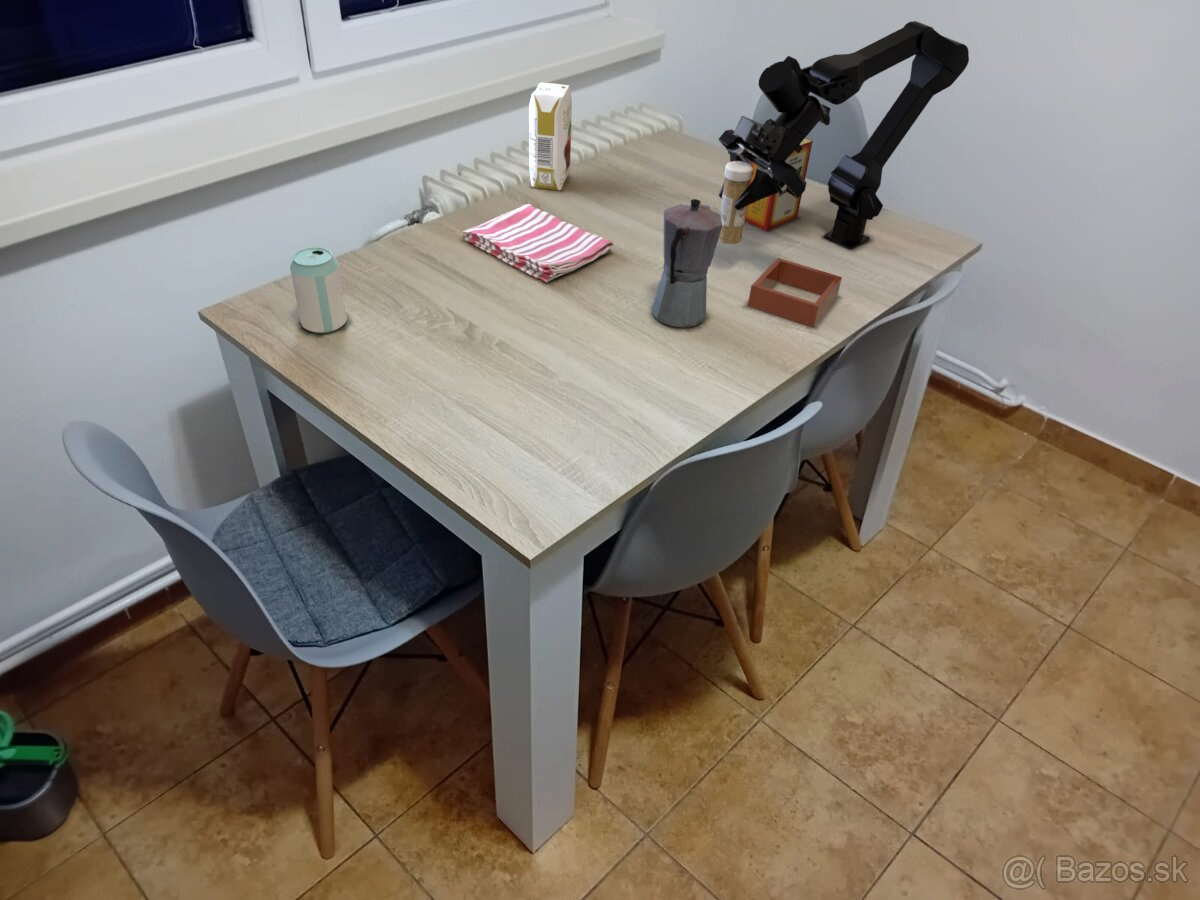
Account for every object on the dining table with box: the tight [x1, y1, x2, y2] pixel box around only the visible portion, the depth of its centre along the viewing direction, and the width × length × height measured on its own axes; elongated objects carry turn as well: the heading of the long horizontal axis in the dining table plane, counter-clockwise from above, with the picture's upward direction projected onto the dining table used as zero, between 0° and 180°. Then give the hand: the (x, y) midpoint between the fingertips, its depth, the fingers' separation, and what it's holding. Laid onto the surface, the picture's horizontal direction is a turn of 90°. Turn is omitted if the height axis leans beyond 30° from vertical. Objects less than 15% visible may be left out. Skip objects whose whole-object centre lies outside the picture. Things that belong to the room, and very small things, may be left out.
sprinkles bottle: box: [718, 161, 753, 245], centre depth 155 cm, size 5×5×14 cm
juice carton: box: [528, 81, 573, 191], centre depth 182 cm, size 8×9×19 cm
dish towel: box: [461, 203, 615, 283], centre depth 166 cm, size 17×23×4 cm
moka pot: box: [651, 198, 722, 328], centre depth 144 cm, size 10×15×20 cm, turn 161°
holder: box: [747, 257, 843, 328], centre depth 155 cm, size 12×12×4 cm
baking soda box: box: [744, 137, 814, 232], centre depth 175 cm, size 10×6×16 cm
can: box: [289, 246, 348, 334], centre depth 140 cm, size 7×7×12 cm
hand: (727, 202), depth 155 cm, fingers closed on sprinkles bottle, 4 cm apart
